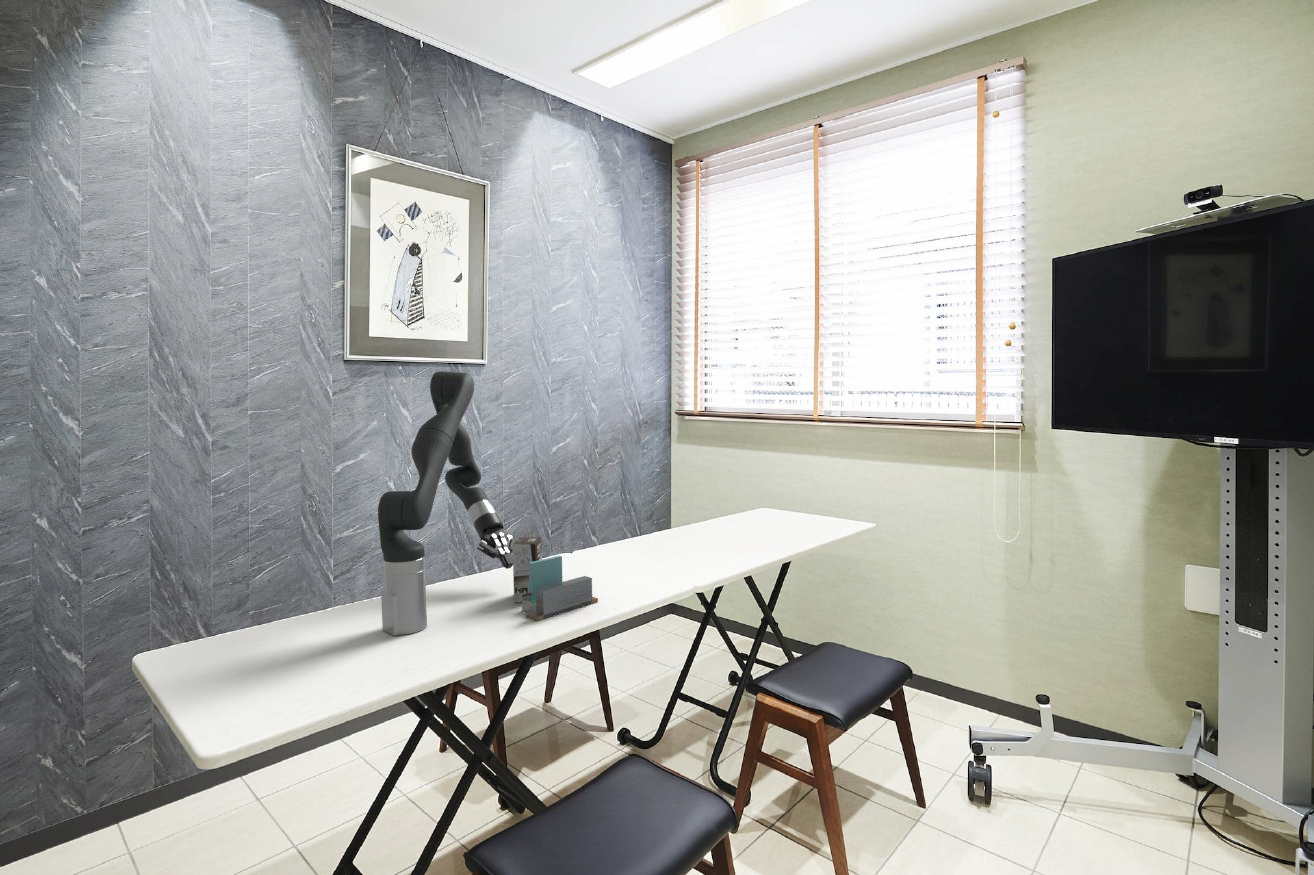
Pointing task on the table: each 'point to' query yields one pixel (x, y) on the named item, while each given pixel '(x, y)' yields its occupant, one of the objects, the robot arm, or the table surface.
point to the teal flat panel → (544, 574)
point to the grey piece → (559, 598)
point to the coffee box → (524, 564)
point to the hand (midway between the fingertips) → (509, 566)
